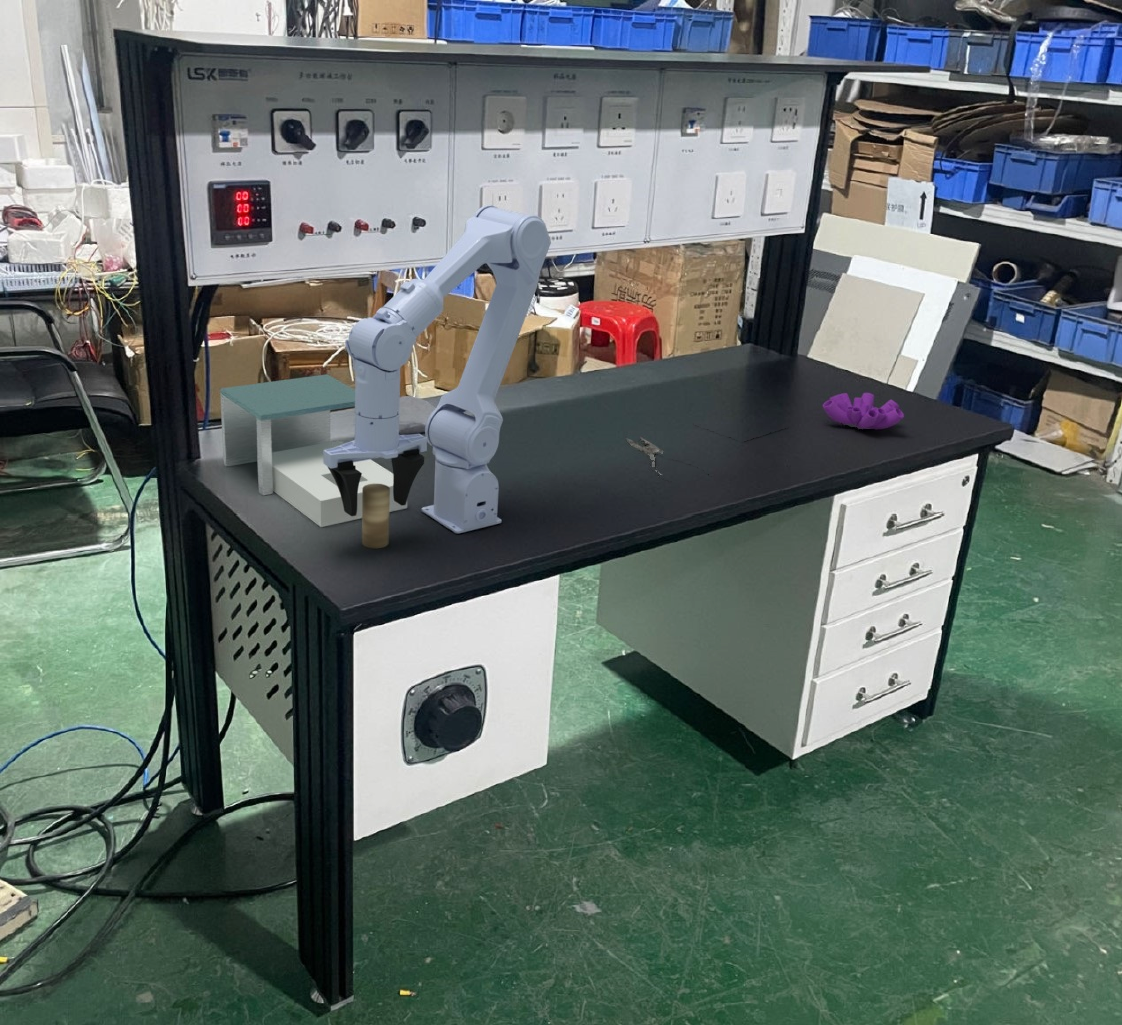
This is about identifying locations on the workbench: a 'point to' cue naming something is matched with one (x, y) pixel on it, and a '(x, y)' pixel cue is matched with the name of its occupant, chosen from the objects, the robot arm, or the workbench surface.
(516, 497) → the workbench surface
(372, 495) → the peg
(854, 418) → the purple tube coral
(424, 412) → the stone block
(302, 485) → the socket block
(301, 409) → the teal topped shelf
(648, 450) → the pliers
